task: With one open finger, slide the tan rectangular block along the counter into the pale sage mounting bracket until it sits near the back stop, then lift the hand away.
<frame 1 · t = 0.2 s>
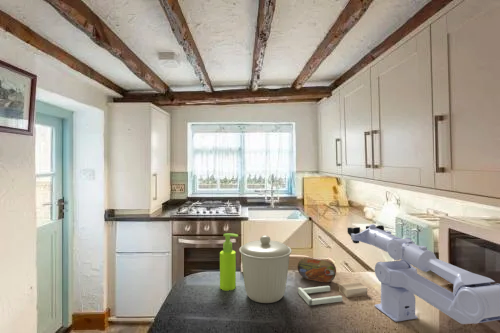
hand: (357, 229, 108), 21 cm above the countertop, tool horizontal, fingers open, 7 cm apart
tan rectangular block: (352, 294, 102), on the countertop
bracket: (319, 297, 98), on the countertop
canister: (265, 296, 99), on the countertop
tin: (316, 280, 114), on the countertop
soap dispenser: (229, 287, 106), on the countertop
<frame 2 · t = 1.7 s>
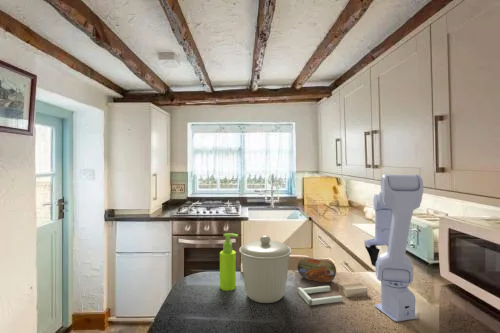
hand: (383, 264, 104), 9 cm above the countertop, tool pointing down, fingers open, 7 cm apart
nothing on the countertop moved.
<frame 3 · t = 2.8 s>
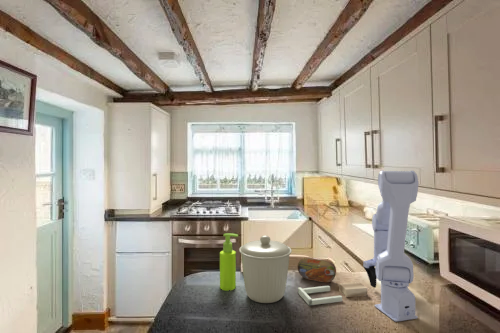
hand: (382, 285, 104), 1 cm above the countertop, tool pointing down, fingers open, 7 cm apart
nothing on the countertop moved.
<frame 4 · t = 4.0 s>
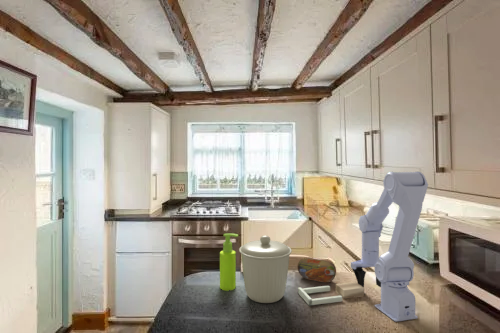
hand: (370, 286, 103), 1 cm above the countertop, tool pointing down, fingers open, 7 cm apart
tan rectangular block: (349, 294, 101), on the countertop, touching gripper
everything else where it was.
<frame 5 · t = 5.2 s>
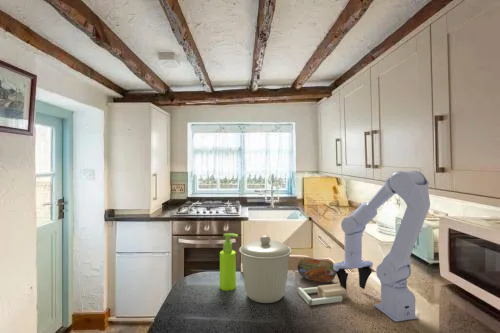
hand: (352, 288, 102), 2 cm above the countertop, tool pointing down, fingers open, 7 cm apart
tan rectangular block: (331, 296, 99), on the countertop, touching gripper
everything else where it was.
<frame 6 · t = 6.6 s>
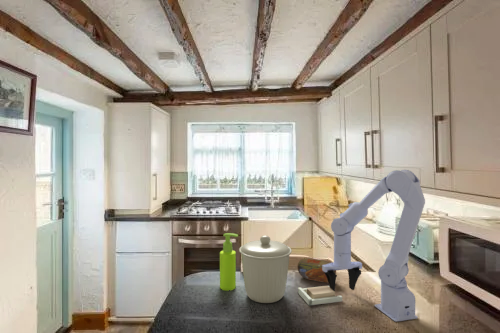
hand: (342, 290, 101), 2 cm above the countertop, tool pointing down, fingers open, 7 cm apart
tan rectangular block: (320, 298, 98), on the countertop
everything else where it was.
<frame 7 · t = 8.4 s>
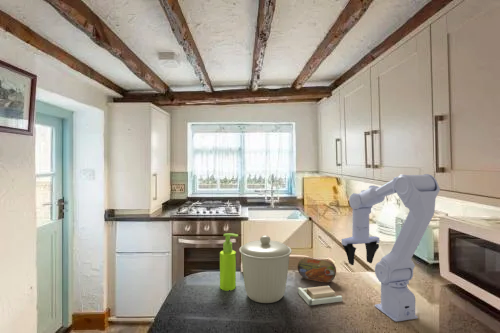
hand: (360, 263, 105), 10 cm above the countertop, tool pointing down, fingers open, 7 cm apart
nothing on the countertop moved.
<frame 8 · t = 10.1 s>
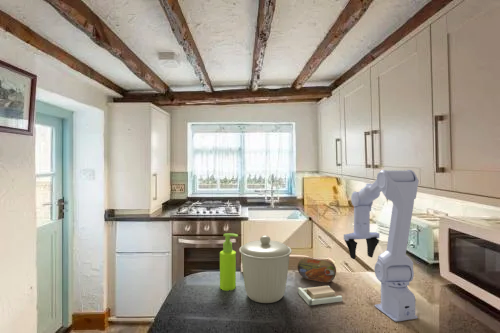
hand: (361, 257, 111), 9 cm above the countertop, tool pointing down, fingers open, 7 cm apart
nothing on the countertop moved.
at the end: tan rectangular block 0.4 cm off-centre on the bracket, point 0.0 cm above the bracket's base; tan rectangular block tilted 0°; the gripper is holding nothing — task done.
